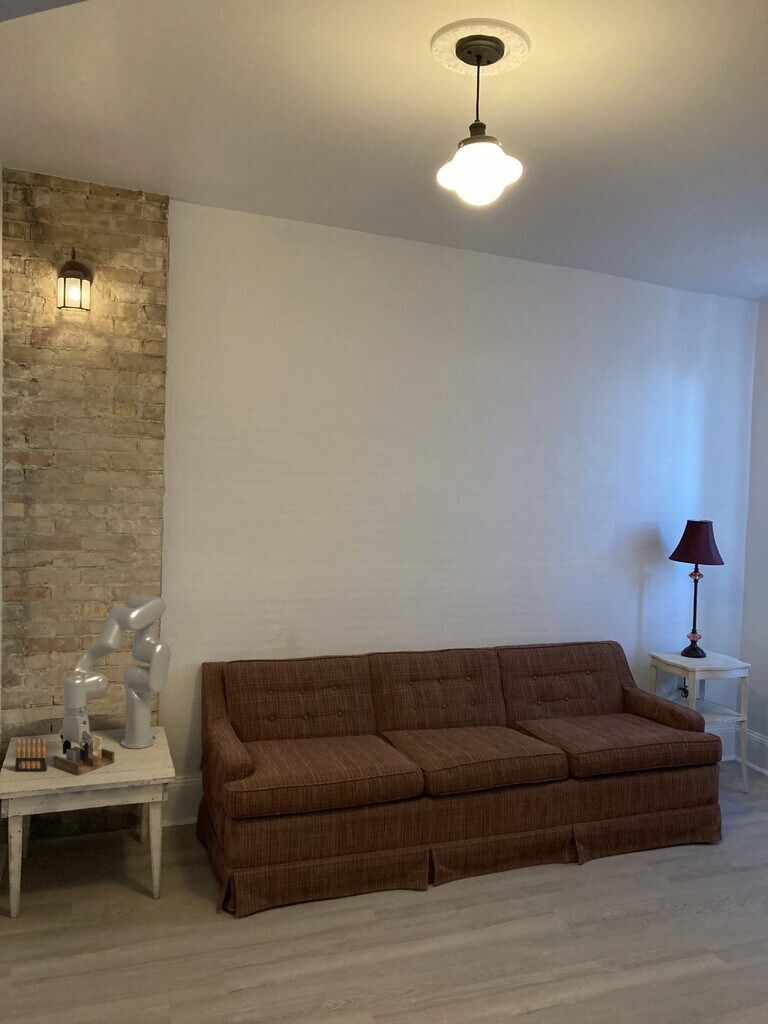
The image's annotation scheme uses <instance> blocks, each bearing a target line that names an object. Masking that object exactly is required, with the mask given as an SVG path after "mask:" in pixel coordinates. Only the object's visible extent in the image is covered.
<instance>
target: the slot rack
mask: <svg viewBox="0 0 768 1024" xmlns="http://www.w3.org/2000/svg"><path fill="white" fill-rule="evenodd" d="M52 759H53V764H52V765H53V768H56V769H58V770H60V771H64V772H66V773H69V774H72V775H75V776H77V777H78V776H81V775H83V774H84V775H85V774H86V773H89V772H92V771H95V770H98V769H100V768H104V767H106V766H109V765H112V764H114V763H115V751H112V750H109V749H105V748H103V747H102V758H101V759H100V757H98V756H95V755H92V754H89V753H88V758H87V759H85V760H83V765H81V764H79V763H77V762H74V761H71V760H68V759H66V757H65V758H64V757H62V756H58V755H53V758H52ZM103 766H104V767H103Z"/></svg>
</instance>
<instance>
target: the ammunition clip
mask: <svg viewBox="0 0 768 1024" xmlns="http://www.w3.org/2000/svg"><path fill="white" fill-rule="evenodd" d="M47 771H48V758H47V742H46V739H45V738H43V740H42V744H41V739H40V738H38V739H37V742H36V739H35V738H32V743H31V739H30V738H29V737H28V739H27V742H26V740H25V738H22V741H21V740H20V738H17V741H16V751H15V765H14V772H15V773H29V772H30V773H36V772H37V773H41V772H42V773H44V772H47Z"/></svg>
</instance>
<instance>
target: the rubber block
mask: <svg viewBox="0 0 768 1024" xmlns="http://www.w3.org/2000/svg"><path fill="white" fill-rule="evenodd" d="M80 750H81V747H78V746H73V747H71V748H70V749H67V750H66V754H65V755H66V757H65V759H68V760H71V761H74V762H77V763H79V764H81V765H83V760H80Z"/></svg>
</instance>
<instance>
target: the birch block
mask: <svg viewBox="0 0 768 1024" xmlns="http://www.w3.org/2000/svg"><path fill="white" fill-rule="evenodd" d="M90 737H91V738H92V742H91V745H90V747H89V748H88V753H89V754H92V755H95V756H98V757H100V759H101V758H102V748H103V737H101V736H99V735H95V734H94V735H92V736H90Z"/></svg>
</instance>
